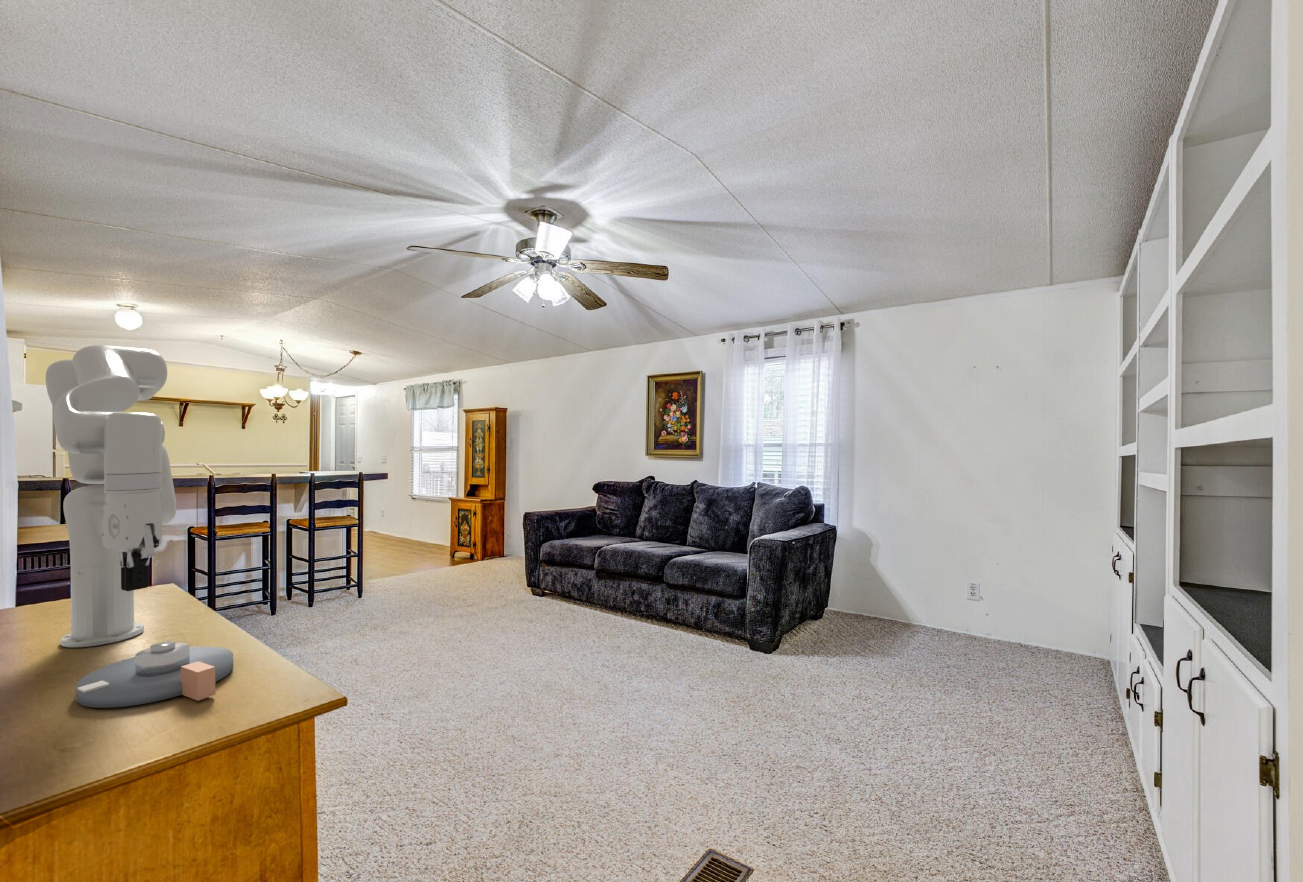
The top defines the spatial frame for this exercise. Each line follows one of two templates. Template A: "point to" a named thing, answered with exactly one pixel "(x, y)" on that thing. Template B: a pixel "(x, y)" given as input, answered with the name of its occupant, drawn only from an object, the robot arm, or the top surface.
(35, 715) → the top surface
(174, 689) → the turntable
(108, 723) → the top surface
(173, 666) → the cover
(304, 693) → the top surface
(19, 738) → the top surface
